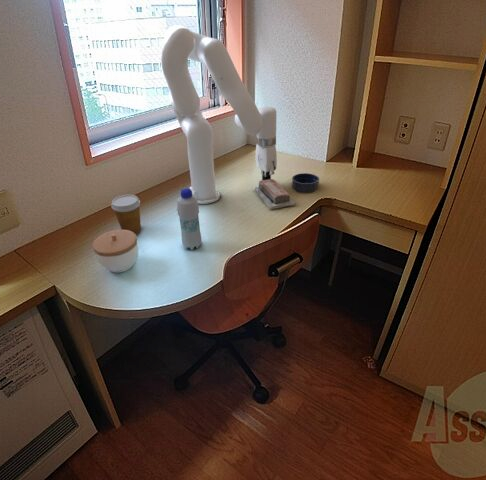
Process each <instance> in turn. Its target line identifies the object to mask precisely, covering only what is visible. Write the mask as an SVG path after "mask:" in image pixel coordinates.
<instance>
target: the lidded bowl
mask: <svg viewBox="0 0 486 480" xmlns="http://www.w3.org/2000/svg"><path fill="white" fill-rule="evenodd" d="M92 250H93V252H94V255H95V257H96V259H97V261H98V263H99V264H100V265H101V266H102V267H103V269H106V270H107V271H110V272H112V273H116V274H120V273H125V272H127V271H128V270H130V269H131V268H132V267H133V266H134V264H135V263H136V261H137V260H138V256H139V243H138V237H137V234H135V233H133V232H132V231H129V230H122V229H114V230H113V229H112V230H110V231H109V230H108V231H107V232H104V233H102V234H100V235H99V236H97V237H96V238H95V239H94V240H93V243H92Z"/></svg>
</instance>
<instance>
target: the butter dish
mask: <svg viewBox="0 0 486 480" xmlns="http://www.w3.org/2000/svg"><path fill="white" fill-rule="evenodd" d="M254 192H255V193H256V194H257V195H258V196H259V198H260V199H261V200H262V202H263V203H264V204H265V205H266V206H267V207H268V208H269V209H270V210H272V211H273V210H276V209H281V208H285V207H290V206H292V207H293V206H296V202H295V201H294V200H293V199H292V198H291V195H290V194H289V193H288V192H287V191H286V190H285V189H284V188H283V186H281V185H280V184H279V183H278V182H277V181H276V180H275V179H274V178H271V179H267V180H262V179H261V180H259V181H258V187H254Z"/></svg>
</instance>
